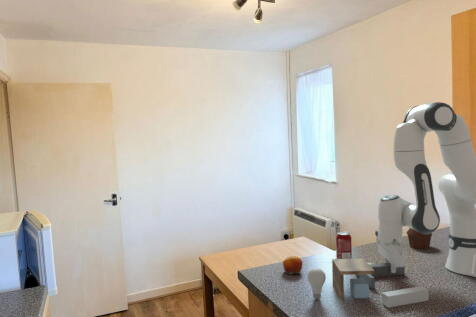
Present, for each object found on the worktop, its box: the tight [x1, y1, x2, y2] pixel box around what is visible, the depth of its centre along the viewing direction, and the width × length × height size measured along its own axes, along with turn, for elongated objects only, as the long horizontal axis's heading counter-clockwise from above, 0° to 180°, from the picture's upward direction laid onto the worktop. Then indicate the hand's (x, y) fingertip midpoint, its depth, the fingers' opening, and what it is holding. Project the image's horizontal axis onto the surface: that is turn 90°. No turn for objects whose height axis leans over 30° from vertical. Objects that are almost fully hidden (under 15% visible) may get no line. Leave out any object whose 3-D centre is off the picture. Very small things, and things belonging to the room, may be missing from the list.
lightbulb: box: [307, 267, 327, 301], centre depth 124 cm, size 6×6×11 cm
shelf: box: [331, 258, 375, 301], centre depth 128 cm, size 12×12×10 cm
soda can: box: [335, 230, 353, 259], centre depth 163 cm, size 7×7×12 cm
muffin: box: [406, 227, 433, 250], centre depth 177 cm, size 12×11×10 cm
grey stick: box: [381, 285, 430, 308], centre depth 120 cm, size 16×3×4 cm, turn 105°
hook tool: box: [355, 262, 406, 290], centre depth 139 cm, size 19×13×4 cm
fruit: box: [282, 255, 303, 276], centre depth 149 cm, size 8×8×8 cm
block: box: [349, 277, 370, 299], centre depth 126 cm, size 5×5×5 cm
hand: (390, 270), depth 144 cm, fingers closed on hook tool, 3 cm apart
